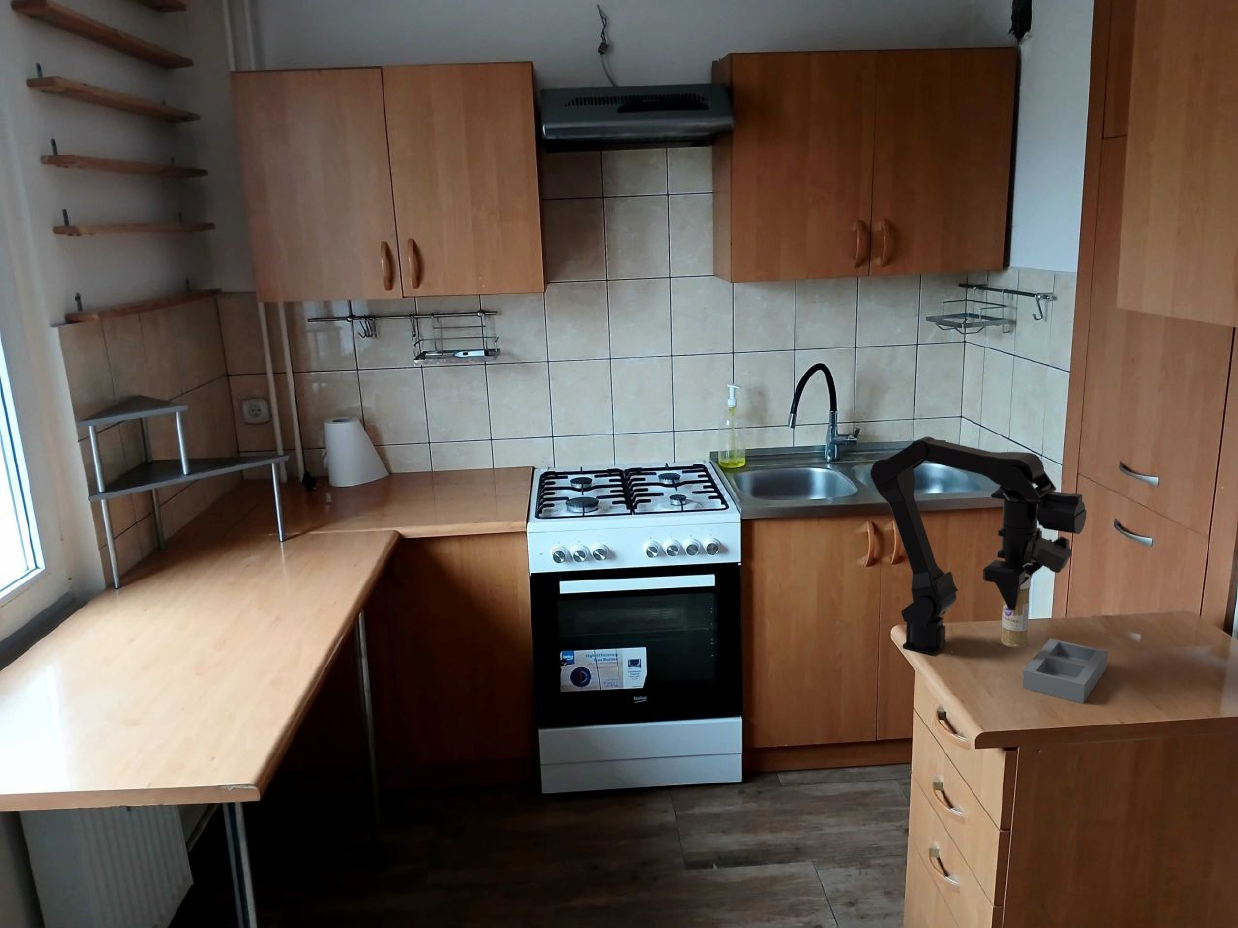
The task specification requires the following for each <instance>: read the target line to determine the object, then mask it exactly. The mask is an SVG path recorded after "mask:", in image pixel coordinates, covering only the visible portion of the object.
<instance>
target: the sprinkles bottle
mask: <svg viewBox="0 0 1238 928" xmlns="http://www.w3.org/2000/svg"><path fill="white" fill-rule="evenodd" d="M1025 577H1029V579H1028V580H1027V581H1026V582H1025V583H1024V584H1022V585H1021V586H1020V591H1019V595H1018V600H1017V604H1016V608H1015V610H1010V609H1008V607H1007V605H1006V603H1005V601H1004V600H1003V604H1002V605H1003V607H1002V617H1001V618H1002V619H1001V620H1002V621H1001V624H1002V625H1001V626H1002V628H1001V629H1002V631H1001V639H1000V641H1001V643H1002V644H1003V645H1005V646H1007V647H1010V648H1014V649H1019V648H1024V647H1027V645H1028V630H1029V614H1030V613H1029V611H1030V589H1031V585H1032V578H1031V577H1030V575H1028V574H1026V576H1025Z"/></svg>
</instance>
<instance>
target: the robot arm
mask: <svg viewBox="0 0 1238 928" xmlns="http://www.w3.org/2000/svg"><path fill="white" fill-rule="evenodd" d="M925 462H929V463H932V464H937V465H940V466H946V467H950V468H953V469H959V470H961V471H967V472H970V473H974V474H978V475H981V476H984V477H985V478H987V479H989V480H990V481H991V482H992V483H994V484H996V485H999V488H998V489H997V490H996V491H994V492H992V493H991V495H990V496H991V498H992V499H999V500H1002V501H1003V504H1002V521H1001V522H1002V524H1001V526H1002V527H1001V528H1000V529H998V531H997V532H998V533H997V535H998V537H1001V547H1000V548H1001V549H1000V550H998V551H997V558H998V559H994V560H993V561H991V562H990V563H989V564H987V566H985V567H984V568H983V569H982V580H983V581H985V582H990V583H995V585H996V586H997V588H998V590H999V593H1000V594H1001V596H1002V598H1003V602H1004V601H1005V603H1006V605H1007V607H1008V609H1010V610H1015V608H1016V604H1017V600H1018V595H1019V591H1020V586H1021V585H1022V584H1024V583H1025V582H1026V581H1027V580H1028V579H1029V577H1025V576H1026V574H1028V575H1030V577H1031V579H1032V578H1033V575H1034V574H1035V573H1036V572H1037V571H1039V570H1040V569H1041V568H1043V567H1045V568H1047V569H1049V571H1050V572H1052V573H1056V574H1059V573H1061V572H1062V570H1063V569H1065V568H1066V565H1067V563H1068V562H1069V560H1070V558H1071V557H1072V555H1073V552H1072V550H1073V549H1072V548H1070V539H1069V538H1066V537H1064V536H1060V537H1058V538H1056V539H1055V540H1053V539H1051V538H1049V539H1047V538H1045V537H1043V530H1042V529H1041V528H1040V527H1038V525H1039V526H1041V527H1042V528H1043V529H1044V530H1051V531H1056V532H1064V533H1068V534H1075V535H1080V534H1081V533H1082V532H1083V529H1084V527H1085V524H1086V521H1087V520H1086V519H1087V509H1086V505H1085V502H1084V500H1083V494H1082V493H1068V492H1060V491H1059V492H1058V491H1057V487H1056V486H1055V484H1054V483H1053V481H1052V480H1051V478H1050V476H1048V474H1047V472H1046V471H1045V468H1044V464H1043V461H1042V460H1041V459H1040V457H1039V456H1038V455H1037V454H1035V453H1031V452H1023V451H1000V452H998V451H997V452H996V451H988V450H985V449H980V448H976V447H971V446H966V445H963V444H957V443H953V442H951V441H950V442H949V441H945V440H940V439H936V438H934V437H932V436H924V437H922V438H919V439H916V440H914V441H912V442H911V444H909V445H908V446H907V447H905V448H903V449H902V450H901V451H899V452H897V453H894V454H891V455H889V456H886V457H884V458H881V459H879V460H877V461H875V462H874V463H873V464H872V466H871V468H870V470H869V471H870V473H869V474H870V478H871V481H872V482H873V485H874V486H875V488H876V491H877V492H878V494H879V495H880V496H881V497H882V498H883V499H884V500H885V501H886V502H887V503H888V505H889V507H890V509H891V513H892V516H893V518H894V522H895V524H896V527H897V530H898V533H899V536H900V537H899V538H900V539H901V543H902V545H903V549H904V552H905V555H906V556H907V557H906V558H907V560H908V563H909V566H910V569H911V573H912V577H911V578H912V580H911V587H910V588H911V589H910V591H911V595H912V603H910V604H909V605H908V606H906V607H905V608H904V609H902V610H901V611H900V613H901V616H902V620H903V622H904V623H906V624H905V625H906V628H905V630H906V631H905V642H904V643H903V644H902V648H903V649H907V650H911V651H914V652H919V653H922V654H927V655H930V656H935V655H936V654H937V653H938V652H939V651H940V650H941V649H942V648H944V647H945V645H947V644H946V643H947V641H946V626H945V625H944V617H942V616H943V615H944V614H946V613H947V611H948V610H949V609H950V608H951V607H952V606H953V605H954V604H955V603H956V601H957V592H958V591H959V589H958V588H957V586H956V584H955V583H954V578H953V574H952V572H951V571H948V572H944V571H943V570H942V569H941V568H940V567H939V566H938V564H937V561H936V558H935V556H934V553H933V550H932V546H931V543H930V541H929V538H928V535H927V532H926V528H925V525H924V523H923V519H922V517H921V514H920V511H919V508H918V505H917V502H916V499H915V487H916V478H915V477H916V476H915V472H914V471H915V469H916V468H918V467H919V466H921V465H922V464H923V463H925ZM1034 485H1035V486H1036V487H1035V486H1034ZM999 558H1000V559H1004V560H999Z"/></svg>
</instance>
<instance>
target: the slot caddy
mask: <svg viewBox="0 0 1238 928" xmlns="http://www.w3.org/2000/svg"><path fill="white" fill-rule="evenodd" d="M1107 664H1108V650H1105V649H1101V648H1100V649H1099V648H1095V647H1092V646H1087V645H1082V644H1078V643H1072V642H1068V641H1063V640H1060V639H1054V638H1049V639H1048V640H1047V642H1046V643H1044V645H1043V647H1041V649H1040V650H1039V651H1038V652H1037V653H1036V655H1035V656H1034V657H1033V658H1032V660H1031V661H1030V662H1029V663H1028V664H1027V665H1026V667H1025V668H1024V669H1023V673H1022V674H1023V678H1022V689H1024V690H1029V691H1032V692H1036V693H1037V692H1038V693H1040V694H1045V695H1049V696H1053V697H1057V698H1060V699H1065V700H1067V701H1072V702H1076V703H1079V704H1084V703H1085V702H1086V700H1087V698H1088V697H1089V695H1091V692H1092V691H1093V689H1094V688H1095V687H1096V685H1097V683H1098V682H1099V680H1101V677H1102V676H1103V674H1104V672H1106V669H1107V666H1108V665H1107Z"/></svg>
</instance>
